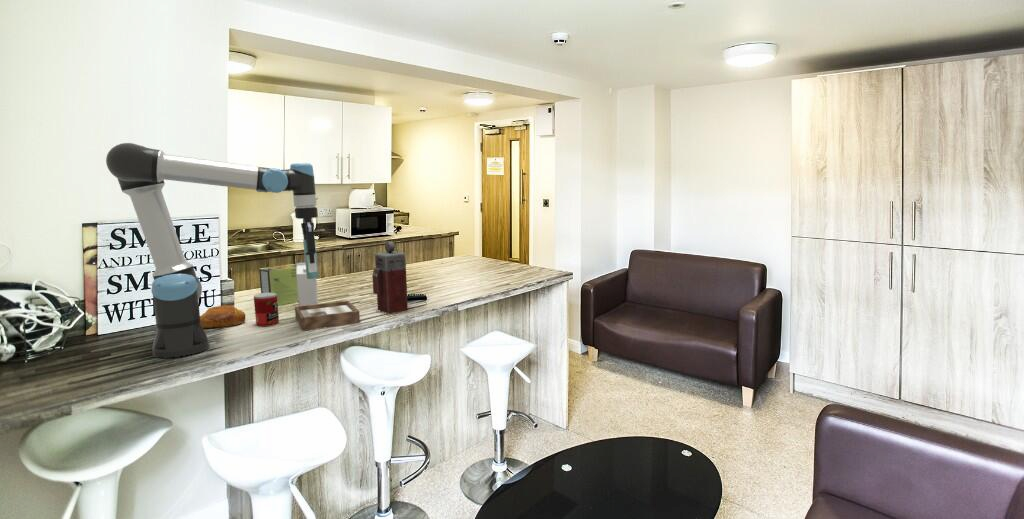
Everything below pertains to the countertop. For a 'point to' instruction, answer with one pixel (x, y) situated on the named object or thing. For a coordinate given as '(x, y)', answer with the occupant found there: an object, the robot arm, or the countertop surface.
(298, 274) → the milk carton
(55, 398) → the countertop surface
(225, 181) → the robot arm
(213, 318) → the croissant
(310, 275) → the peg
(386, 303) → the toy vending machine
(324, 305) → the box
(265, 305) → the canned food
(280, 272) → the protein box
